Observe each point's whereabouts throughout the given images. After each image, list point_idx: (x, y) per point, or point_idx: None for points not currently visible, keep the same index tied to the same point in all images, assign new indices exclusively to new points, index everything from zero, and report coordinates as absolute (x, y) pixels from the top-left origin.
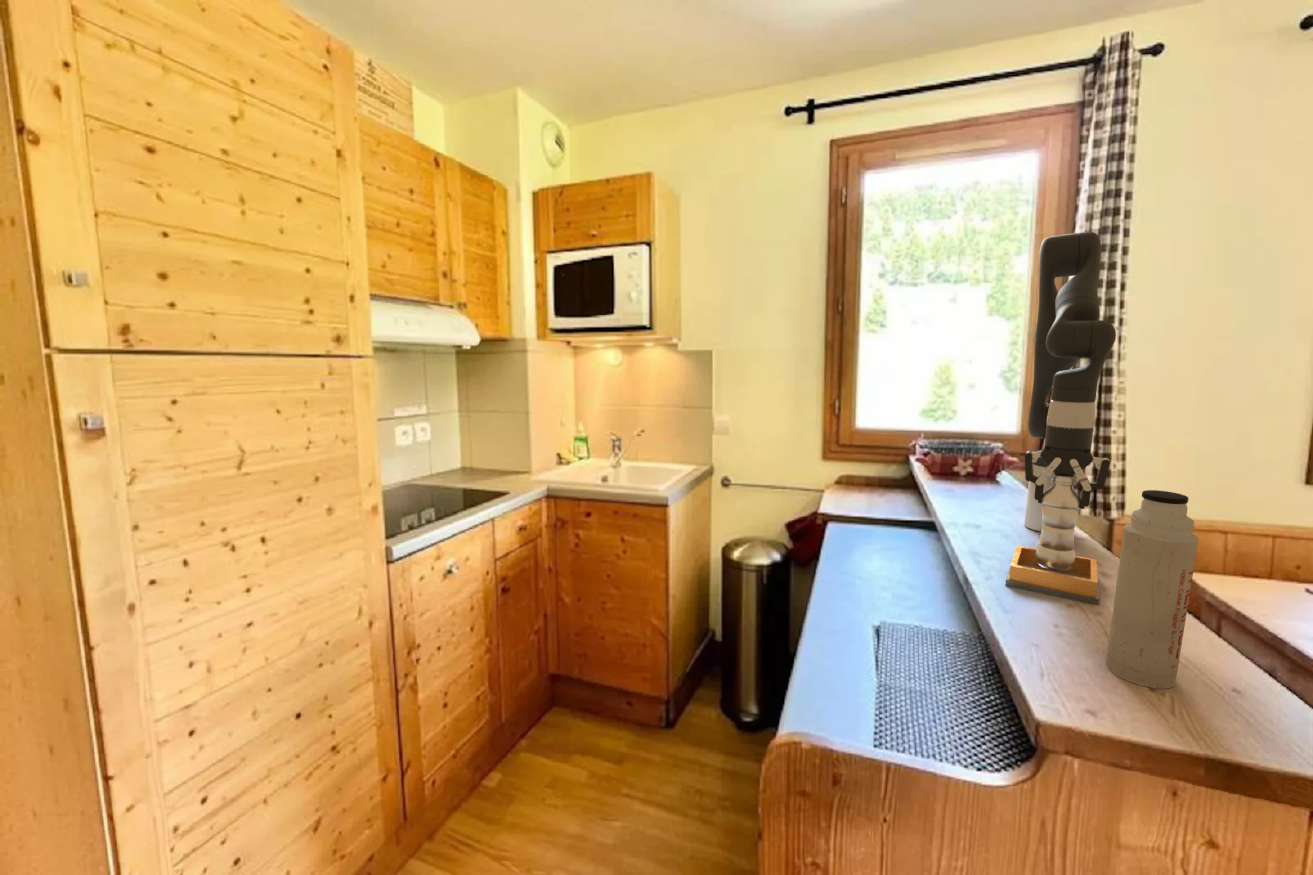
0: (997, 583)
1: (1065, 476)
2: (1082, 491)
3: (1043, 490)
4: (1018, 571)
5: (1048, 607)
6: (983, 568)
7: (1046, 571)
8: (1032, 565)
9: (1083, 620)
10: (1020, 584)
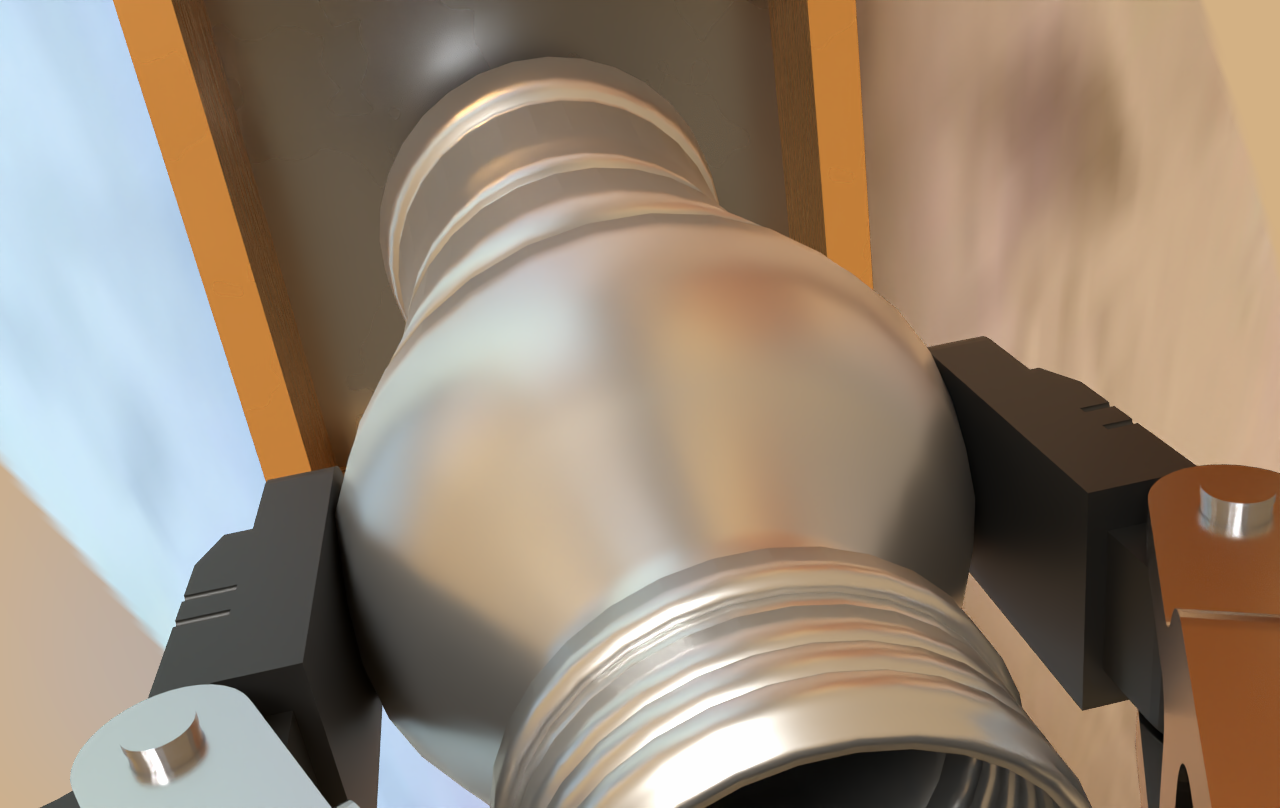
0: (242, 514)
1: (809, 672)
2: (1084, 699)
3: (344, 674)
4: None
5: None
6: (9, 285)
7: None
8: (325, 26)
9: None
10: None
